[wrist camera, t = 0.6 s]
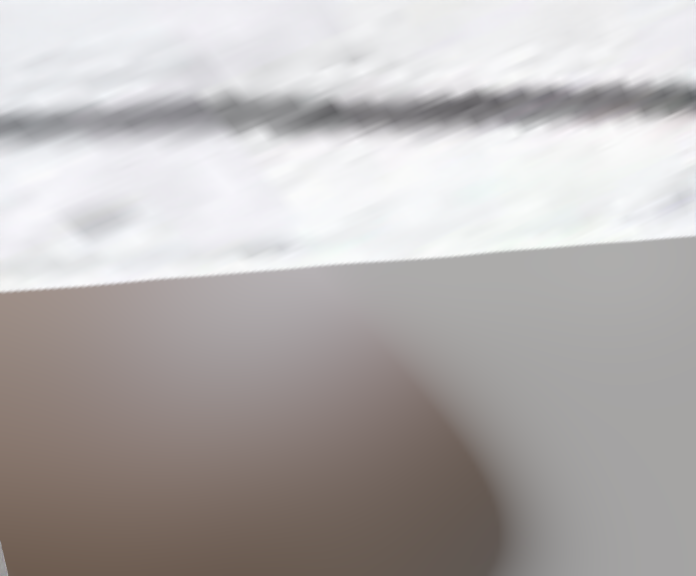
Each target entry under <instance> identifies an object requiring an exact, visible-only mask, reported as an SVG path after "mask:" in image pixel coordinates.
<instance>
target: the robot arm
mask: <svg viewBox="0 0 696 576" xmlns="http://www.w3.org/2000/svg"><path fill="white" fill-rule="evenodd" d="M0 576H8V572H7V568H6V563H5V560H4V555H3V551H2V547H1V543H0Z"/></svg>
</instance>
